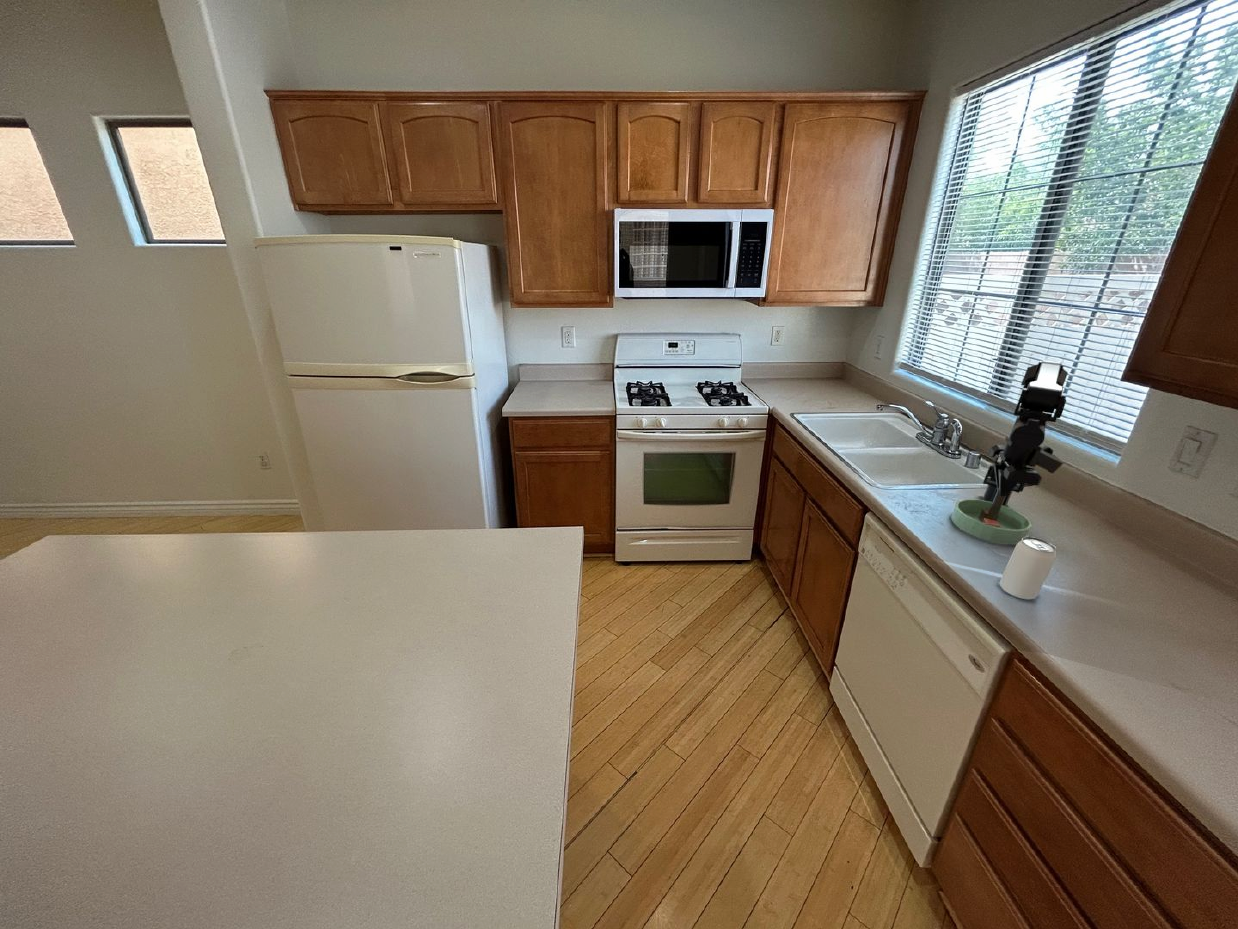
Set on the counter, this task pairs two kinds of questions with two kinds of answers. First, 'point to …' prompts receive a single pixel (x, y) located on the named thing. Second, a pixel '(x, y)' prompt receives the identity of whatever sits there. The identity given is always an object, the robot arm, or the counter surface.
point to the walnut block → (987, 515)
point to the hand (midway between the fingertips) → (1001, 494)
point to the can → (1028, 568)
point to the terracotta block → (991, 522)
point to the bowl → (1008, 519)
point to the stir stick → (996, 504)
